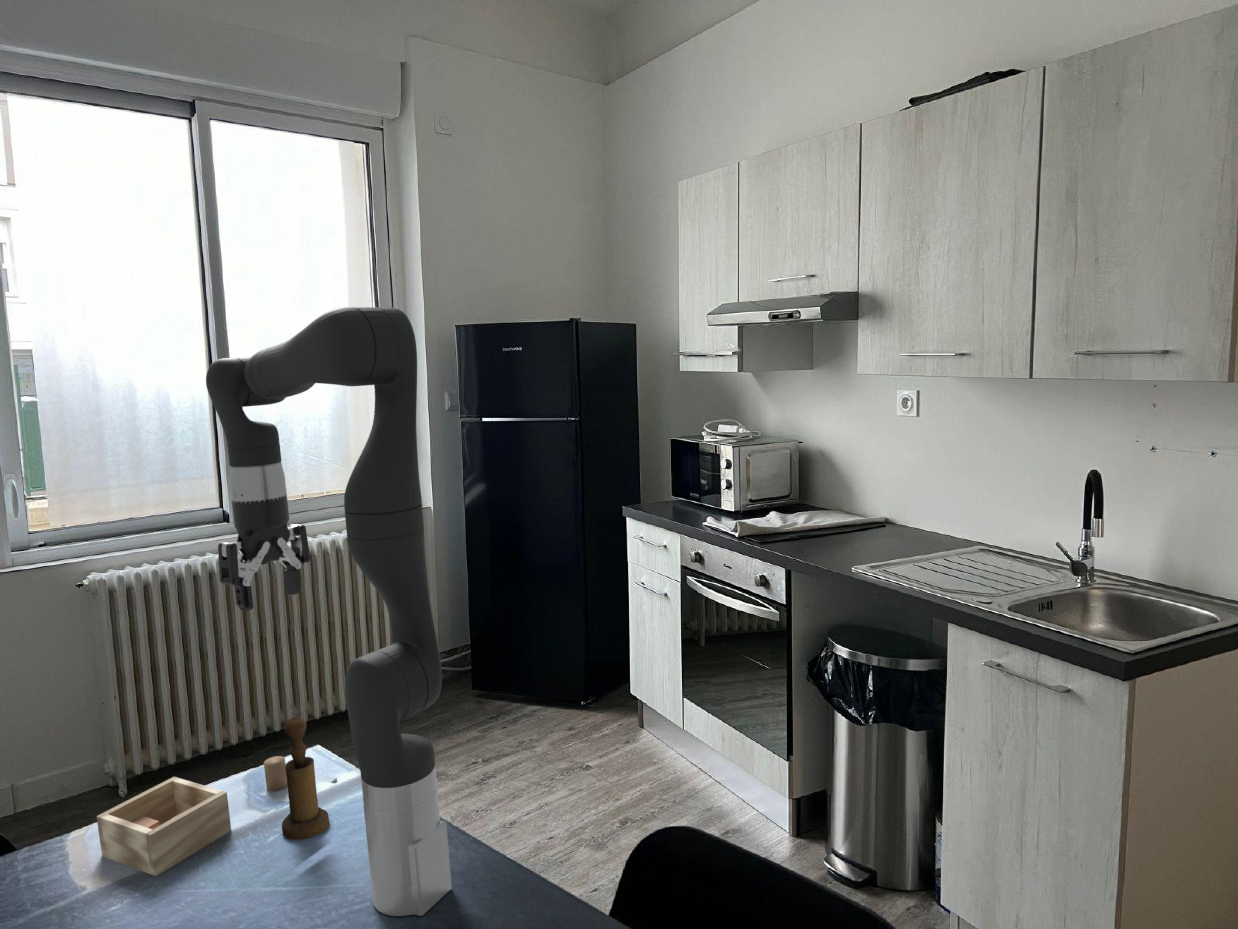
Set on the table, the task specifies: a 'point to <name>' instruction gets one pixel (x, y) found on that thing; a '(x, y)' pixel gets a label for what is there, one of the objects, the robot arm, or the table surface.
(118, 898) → the table surface
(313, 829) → the mortar and pestle
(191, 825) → the box
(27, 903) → the table surface
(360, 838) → the table surface
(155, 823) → the block
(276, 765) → the lid
